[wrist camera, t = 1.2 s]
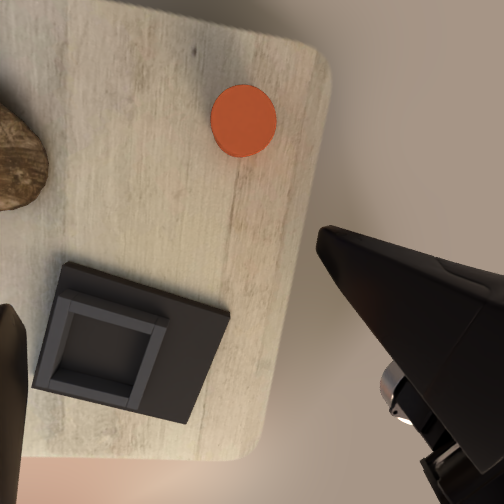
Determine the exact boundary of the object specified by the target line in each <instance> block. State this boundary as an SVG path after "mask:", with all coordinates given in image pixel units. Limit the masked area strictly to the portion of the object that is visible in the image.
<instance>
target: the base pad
mask: <svg viewBox="0 0 504 504" xmlns="http://www.w3.org/2000/svg"><path fill="white" fill-rule="evenodd" d="M229 320H230V312H227V311H224V310H221V309H218V308H215V307H212V306H208V305H205V304H202V303H199V302H196V301H193V300H189V299H186V298H183V297H180V296H177V295H174V294H170V293H167V292H164V291H161V290H158V289H155V288H151V287H148V286H145V285H142V284H139V283H136V282H132V281H129V280H126V279H123V278H120V277H117V276H113V275H110V274H107V273H104V272H101V271H98V270H94V269H91V268H88V267H85V266H82V265H79V264H75V263H72V262H67V263H65V264H63V265H62V269H61V273H60V277H59V281H58V285H57V289H56V293H55V297H54V300H53V304H52V308H51V312H50V316H49V320H48V324H47V328H46V332H45V336H44V340H43V344H42V347H41V351H40V355H39V359H38V363H37V367H36V371H35V375H34V379H33V383H32V387H31V388H34V389H38V390H43V391H47V392H51V393H55V394H59V395H64V396H68V397H72V398H76V399H80V400H85V401H89V402H93V403H97V404H101V405H106V406H110V407H114V408H118V409H122V410H127V411H131V412H135V413H139V414H143V415H148V416H152V417H156V418H160V419H164V420H169V421H173V422H177V423H181V424H187V422H188V419H189V417H190V414H191V412H192V410H193V407H194V405H195V402H196V400H197V397H198V395H199V393H200V390H201V388H202V385H203V383H204V381H205V378H206V376H207V373H208V371H209V368H210V366H211V364H212V361H213V359H214V356H215V354H216V351H217V349H218V347H219V344H220V342H221V339H222V337H223V334H224V332H225V330H226V327H227V325H228V322H229Z"/></svg>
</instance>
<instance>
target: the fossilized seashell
mask: <svg viewBox="0 0 504 504" xmlns="http://www.w3.org/2000/svg"><path fill="white" fill-rule="evenodd" d="M48 166H49V163H48V159H47V154H46V151H45V149H44V147H43V146H42V144H41V141H40V139H39V138H38V136H37V135H35V134H34V133H33V131H31V130H30V128H29V127H28V126H27V125H26V124H25V122H24V121H23V120H21V119H20V118H19V117H17V116H16V115H15V114H14V113H12V112H11V111H10V110H9V109H7V108H6V107H5V106H4V105H2V104H1V103H0V211H4V210H14V209H17V208H20V207H23V206H26V205H28V204H29V203H31V202H32V201H34V200H35V199H36V198H37V197H38V195H39V193H40V191H41V190H42V188H43V187H44V186H45V184H46V180H47V178H48Z"/></svg>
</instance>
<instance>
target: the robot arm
mask: <svg viewBox="0 0 504 504" xmlns="http://www.w3.org/2000/svg"><path fill="white" fill-rule="evenodd" d="M316 252H317V254H318V256H319V258H320V259H321V261H322V262H323V264H324V266H325V267H326V269H327V271H328V272H329V274H330V276H331V277H332V279H333V281H334V282H335V284H336V285H337V286H338V288H339V289H340V291H341V292H342V293H343V295H344V296H345V297H346V299H347V300H348V301H349V303H350V304H351V305H352V306H353V308H354V309H355V310H356V312H357V313H358V314H359V316H360V317H361V318H362V320H363V321H364V322H365V323H366V325H367V326H368V327H369V329H370V330H371V331H372V333H373V334H374V335H375V336H376V338H377V339H378V340H379V342H380V343H381V344H382V346H383V347H384V348H385V350H386V351H387V352H388V353H389V355H391V357H392V359H393V360H394V361H395V363H396V364H397V365H398V366H399V368H400V369H401V370H402V372H403V373H404V374H405V376H406V377H407V378H408V379H407V380H406V382H405V384H404V385H403V387H402V389H401V390H400V392H399V394H398V395H397V397H396V399H395V400H394V402H393V404H392V405H391V407H390V409H389V412H390V413H391V415H392V416H395V417H399V418H402V419H406V420H409V421H410V422H411V423H412V425H413V426H414V427H415V429H416V430H417V431H418V432H419V433H420V434H421V436H422V437H423V438H424V440H425V441H426V443H427V444H428V445H429V447H430V448H431V449H432V451H434V452H432V453H431V454H430V455H429V456H427V457H426V458H423V459H422V460H420V463H421V465H422V466H423V469H424V470H423V471H424V473H425V475H426V477H427V479H428V481H429V482H430V484H431V486H432V488H433V490H434V492H435V494H436V496H437V498H438V500H439V502H440V503H441V504H504V275H500V274H496V273H492V272H488V271H484V270H481V269H476V268H473V267H469V266H465V265H462V264H459V263H454V262H451V261H448V260H445V259H441V258H438V257H434V256H432V255H428V254H425V253H421V252H418V251H415V250H412V249H408V248H405V247H402V246H399V245H395V244H392V243H388V242H385V241H382V240H378V239H375V238H372V237H369V236H365V235H362V234H359V233H355V232H352V231H349V230H346V229H342V228H339V227H336V226H332V225H329V226H325V227H322V228H320V230H319V232H318V238H317V243H316ZM27 397H28V364H27V335H26V329H25V326H24V324H23V323H22V321H21V320H20V318H19V316H18V315H17V313H16V311H15V310H14V308H13V307H12V306H11V305H10V304H2V305H0V504H16V499H17V489H18V481H19V472H20V461H21V453H22V444H23V435H24V426H25V416H26V407H27Z"/></svg>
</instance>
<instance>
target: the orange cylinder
mask: <svg viewBox="0 0 504 504" xmlns="http://www.w3.org/2000/svg"><path fill="white" fill-rule="evenodd" d="M211 128H212V132H213V135H214V138H215V140H216V142H217V144H218V146H219V147H220V148H221V149H222V150H223V151H224V152H225V153H227V154H229V155H231V156H234V157H246V156H250V155H253V154H256V153H258V152H260V151H261V150H263V149H264V148H265V147H266V146H267V145H268V144H269V143H270V141H271V140H272V138H273V136H274V133H275V129H276V112H275V109H274V106H273V104H272V102H271V100H270V99H269V98H268V96H267V95H266V94H265V93H264V92H262V91H261V90H260V89H258V88H256V87H254V86H250V85H235V86H232V87H230V88H228V89H226V90H225V91H223V92H222V93H221V94H220V95H219V96H218V98H217V99H216V101H215V103H214V105H213V107H212V111H211Z"/></svg>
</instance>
